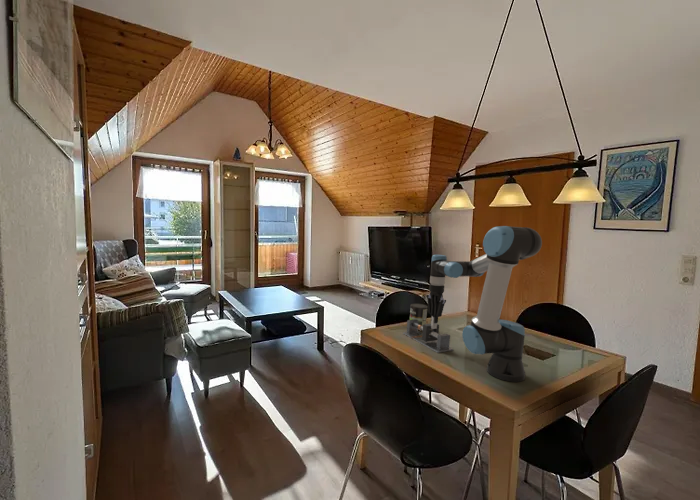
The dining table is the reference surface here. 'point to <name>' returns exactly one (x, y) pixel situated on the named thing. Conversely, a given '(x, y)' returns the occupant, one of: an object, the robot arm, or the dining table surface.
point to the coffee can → (418, 313)
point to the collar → (425, 333)
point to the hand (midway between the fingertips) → (433, 328)
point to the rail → (442, 339)
